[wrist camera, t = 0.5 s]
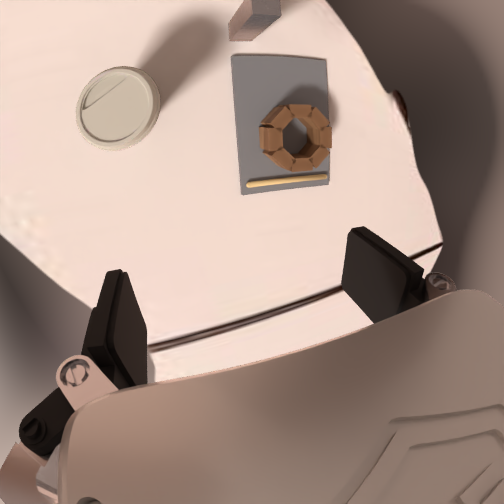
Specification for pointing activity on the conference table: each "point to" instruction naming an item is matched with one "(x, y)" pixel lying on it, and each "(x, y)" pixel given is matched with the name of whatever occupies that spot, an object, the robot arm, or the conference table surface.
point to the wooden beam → (253, 19)
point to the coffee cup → (118, 108)
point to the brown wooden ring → (316, 137)
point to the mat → (261, 103)
